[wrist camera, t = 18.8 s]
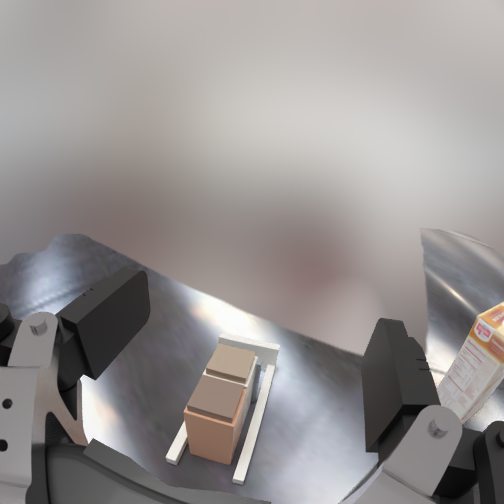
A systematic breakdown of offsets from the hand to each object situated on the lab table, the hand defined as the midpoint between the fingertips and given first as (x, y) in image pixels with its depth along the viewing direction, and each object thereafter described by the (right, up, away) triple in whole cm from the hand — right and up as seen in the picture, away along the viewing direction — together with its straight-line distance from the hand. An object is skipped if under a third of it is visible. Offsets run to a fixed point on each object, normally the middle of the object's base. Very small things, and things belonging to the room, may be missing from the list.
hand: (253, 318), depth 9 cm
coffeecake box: (+33, -24, +23) cm, 47 cm away
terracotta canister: (-5, -22, +20) cm, 30 cm away
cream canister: (-3, -20, +25) cm, 32 cm away
